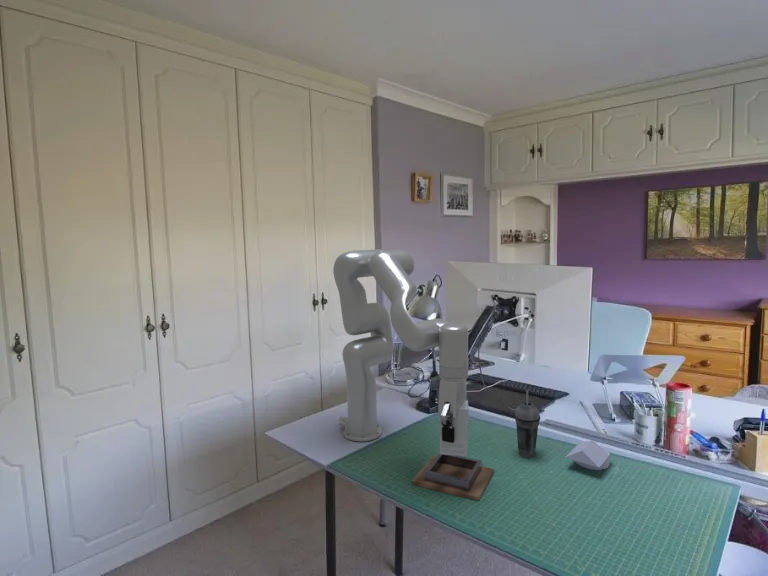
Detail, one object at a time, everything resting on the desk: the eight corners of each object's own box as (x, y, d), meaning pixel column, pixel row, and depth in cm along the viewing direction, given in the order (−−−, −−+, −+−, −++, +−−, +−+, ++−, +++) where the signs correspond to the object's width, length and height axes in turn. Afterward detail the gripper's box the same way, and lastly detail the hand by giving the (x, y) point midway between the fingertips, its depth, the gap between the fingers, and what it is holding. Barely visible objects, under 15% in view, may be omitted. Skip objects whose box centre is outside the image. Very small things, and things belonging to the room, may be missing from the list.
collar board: (411, 484, 126) (411, 471, 125) (432, 459, 139) (432, 447, 139) (478, 501, 118) (478, 487, 117) (494, 472, 131) (494, 460, 130)
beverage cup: (541, 450, 143) (542, 386, 140) (537, 462, 136) (539, 394, 134) (516, 446, 146) (517, 383, 143) (511, 457, 139) (512, 391, 137)
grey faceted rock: (598, 479, 126) (613, 460, 136) (599, 455, 126) (614, 438, 135) (564, 468, 132) (581, 451, 142) (565, 445, 131) (581, 429, 141)
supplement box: (467, 457, 123) (467, 409, 121) (439, 454, 124) (438, 408, 123) (468, 444, 130) (468, 399, 128) (441, 442, 132) (441, 398, 130)
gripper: (450, 360, 134) (451, 420, 136) (427, 379, 118) (428, 445, 121) (477, 363, 130) (477, 424, 133) (456, 382, 115) (457, 451, 117)
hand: (454, 434), depth 127 cm, fingers closed on supplement box, 8 cm apart
